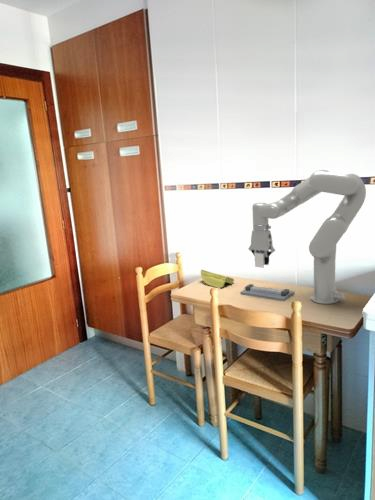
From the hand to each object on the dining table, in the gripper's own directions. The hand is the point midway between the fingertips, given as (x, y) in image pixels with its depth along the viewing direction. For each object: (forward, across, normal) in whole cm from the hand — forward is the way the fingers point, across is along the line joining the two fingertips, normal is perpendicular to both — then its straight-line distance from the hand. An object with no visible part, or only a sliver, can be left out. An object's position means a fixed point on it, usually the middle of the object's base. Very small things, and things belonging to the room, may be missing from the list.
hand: (261, 263), depth 196 cm
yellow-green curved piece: (+17, +32, -5) cm, 37 cm away
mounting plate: (+16, -2, 0) cm, 16 cm away
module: (+1, 0, 0) cm, 1 cm away
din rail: (+15, -2, 0) cm, 15 cm away
